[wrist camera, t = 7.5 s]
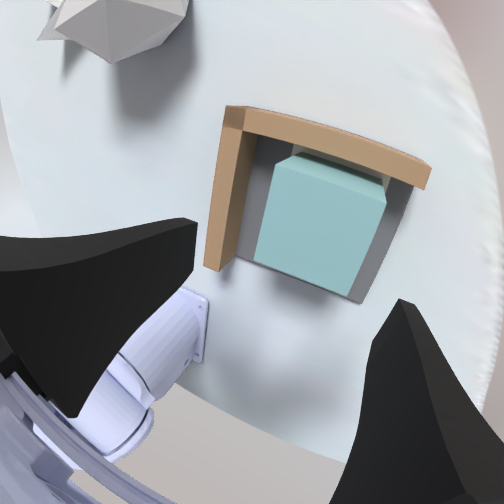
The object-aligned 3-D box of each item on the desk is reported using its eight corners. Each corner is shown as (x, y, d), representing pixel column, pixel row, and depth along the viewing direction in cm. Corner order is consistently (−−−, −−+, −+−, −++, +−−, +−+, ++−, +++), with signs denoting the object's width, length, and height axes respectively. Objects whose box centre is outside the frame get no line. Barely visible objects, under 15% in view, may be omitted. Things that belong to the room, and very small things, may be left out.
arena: (362, 300, 19) (358, 327, 17) (223, 247, 22) (203, 265, 19) (421, 159, 14) (431, 168, 11) (247, 106, 16) (226, 105, 14)
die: (161, -39, 13) (44, -3, 9) (216, -76, 7) (43, -43, 4) (177, 39, 19) (67, 81, 16) (235, 31, 14) (72, 83, 10)
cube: (381, 179, 15) (386, 203, 11) (354, 252, 18) (346, 296, 13) (301, 151, 16) (275, 164, 12) (282, 225, 19) (253, 260, 15)
